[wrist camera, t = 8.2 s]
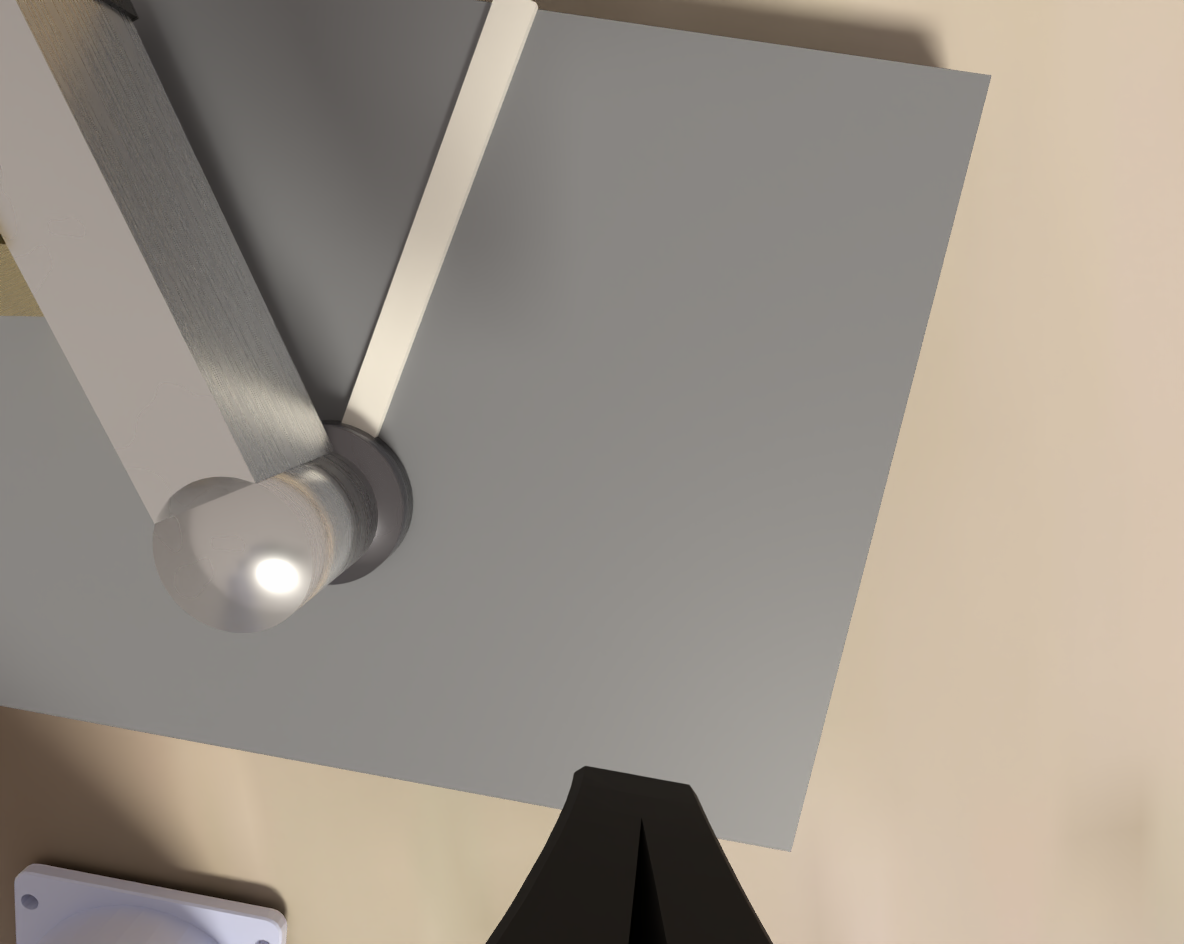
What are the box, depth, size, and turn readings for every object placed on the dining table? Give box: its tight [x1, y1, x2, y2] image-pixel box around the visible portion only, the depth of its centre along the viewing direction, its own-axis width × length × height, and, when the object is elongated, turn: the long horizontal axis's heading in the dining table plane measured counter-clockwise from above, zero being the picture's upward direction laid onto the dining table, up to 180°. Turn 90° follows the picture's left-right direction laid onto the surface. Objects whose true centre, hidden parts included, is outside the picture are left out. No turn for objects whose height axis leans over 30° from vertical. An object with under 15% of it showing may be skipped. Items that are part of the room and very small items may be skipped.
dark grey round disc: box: [321, 420, 413, 585], centre depth 15 cm, size 4×4×1 cm
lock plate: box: [0, 0, 991, 852], centre depth 16 cm, size 18×22×2 cm
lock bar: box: [0, 0, 378, 633], centre depth 12 cm, size 12×3×3 cm, turn 22°
